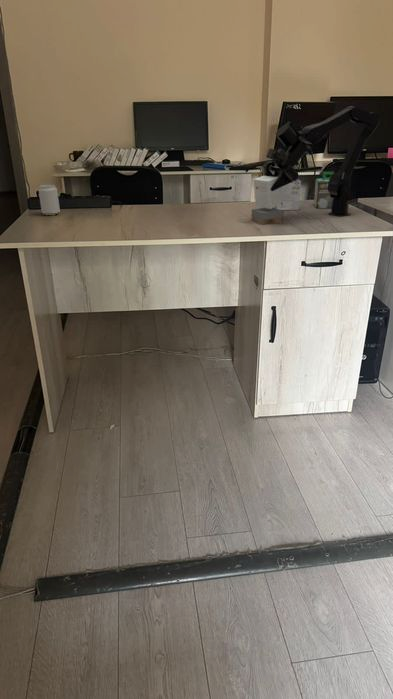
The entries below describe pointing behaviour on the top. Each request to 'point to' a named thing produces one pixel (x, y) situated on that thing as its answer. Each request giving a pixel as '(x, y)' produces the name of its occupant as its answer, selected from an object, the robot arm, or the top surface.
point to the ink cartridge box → (290, 196)
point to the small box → (266, 192)
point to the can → (49, 199)
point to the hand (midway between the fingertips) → (265, 188)
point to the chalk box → (323, 192)
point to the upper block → (267, 213)
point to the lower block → (268, 221)
